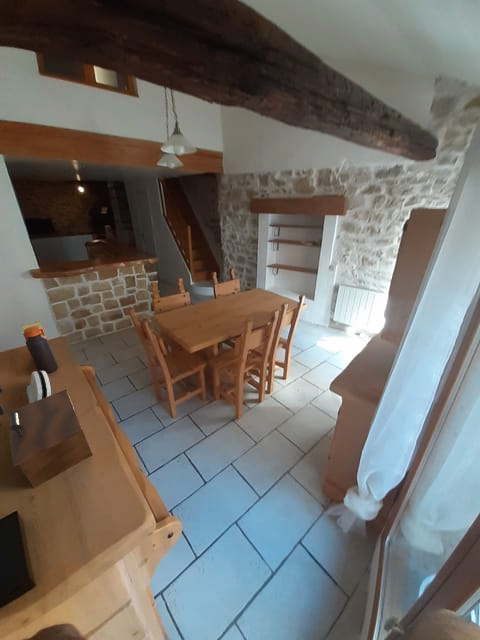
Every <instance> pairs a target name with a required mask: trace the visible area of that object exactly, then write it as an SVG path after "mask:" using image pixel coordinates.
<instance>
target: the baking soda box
mask: <svg viewBox="0 0 480 640" xmlns="http://www.w3.org/2000/svg"><path fill="white" fill-rule="evenodd" d="M20 326H21V332H22V335H23V338H24V339H25V342H26V341H27V339H28V338H27V337H26V336H25V334H24V330H25V329H27V328H29V327H34V326H37V327H39V328H40V331H41V335H43V336H45V337H46V334H45V332H44V331H45V330H44V329H43V326H42V324H41V322H40V320H39V321H35V322H31V323H27V324H23V325H20ZM46 338H47V337H46Z"/></svg>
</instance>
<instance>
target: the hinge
mask: <svg viewBox="0 0 480 640" xmlns="http://www.w3.org/2000/svg"><path fill="white" fill-rule="evenodd" d="M51 387H52V386H51V383H50V378H49V376H48V374H47V373H46V372H45V371H40V372H38V370H37V371H32V372H31V378H30V383H29V384H28V385H27V386H26V394H27V398H28V404H31V403H33V402H36V401H38V400H41V399H43V398H46V397H48V396H51V395H52V388H51Z"/></svg>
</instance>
